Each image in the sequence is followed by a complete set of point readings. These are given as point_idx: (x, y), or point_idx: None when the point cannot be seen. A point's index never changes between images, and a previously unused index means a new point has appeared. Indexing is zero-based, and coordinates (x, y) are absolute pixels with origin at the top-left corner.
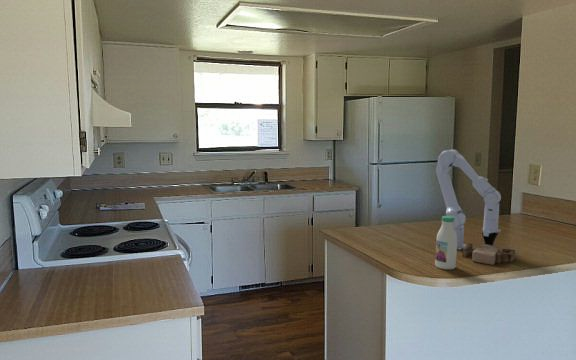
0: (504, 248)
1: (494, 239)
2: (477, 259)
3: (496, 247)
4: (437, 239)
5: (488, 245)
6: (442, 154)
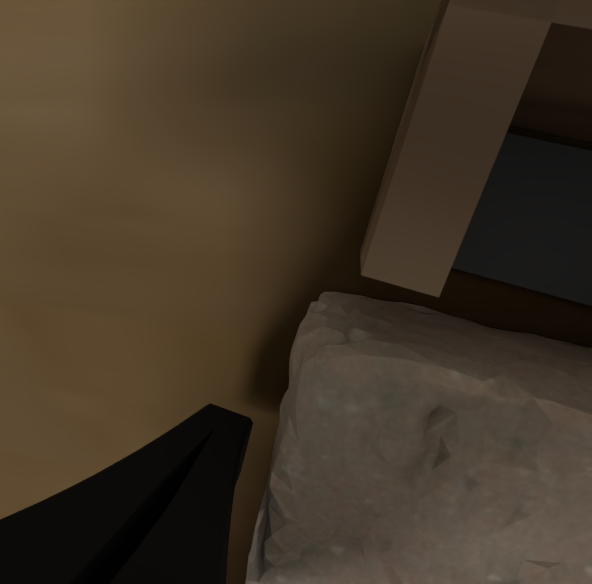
0: (377, 239)
1: (78, 576)
2: None
3: (420, 437)
4: None
5: (330, 570)
6: None
